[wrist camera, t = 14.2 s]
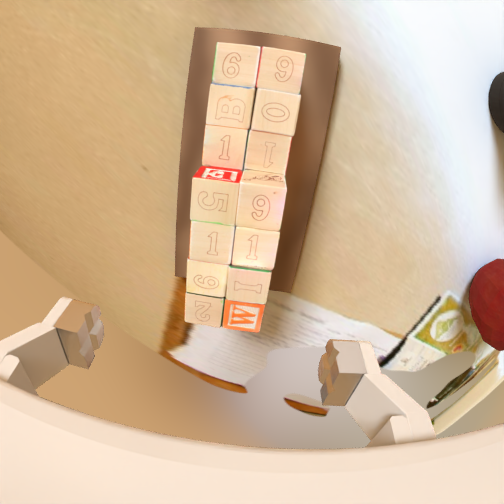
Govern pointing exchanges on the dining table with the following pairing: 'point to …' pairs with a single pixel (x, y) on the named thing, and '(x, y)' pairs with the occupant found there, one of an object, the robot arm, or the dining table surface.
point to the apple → (489, 303)
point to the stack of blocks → (241, 184)
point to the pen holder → (497, 100)
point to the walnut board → (302, 147)
